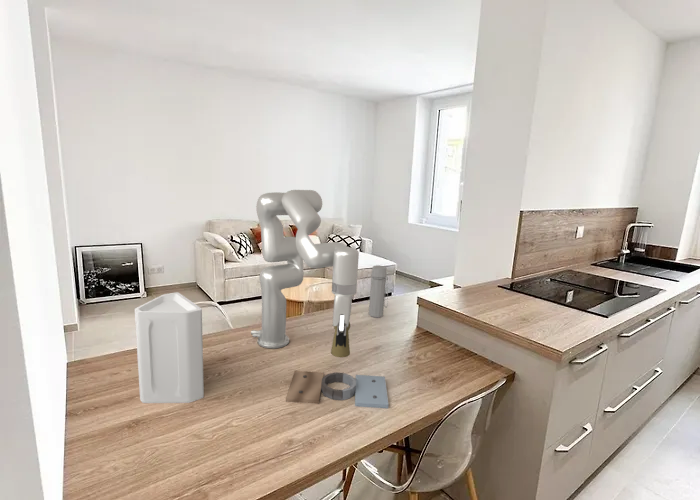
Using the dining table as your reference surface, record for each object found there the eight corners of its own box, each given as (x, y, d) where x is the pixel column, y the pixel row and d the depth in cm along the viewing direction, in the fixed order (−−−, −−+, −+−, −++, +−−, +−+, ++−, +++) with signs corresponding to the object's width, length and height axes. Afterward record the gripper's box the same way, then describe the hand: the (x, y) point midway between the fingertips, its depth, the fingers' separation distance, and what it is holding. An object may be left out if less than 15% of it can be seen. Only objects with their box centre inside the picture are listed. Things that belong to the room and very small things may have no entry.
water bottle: (367, 317, 183) (371, 268, 178) (369, 311, 191) (372, 264, 186) (386, 319, 182) (390, 270, 177) (387, 314, 189) (391, 266, 184)
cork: (352, 350, 120) (354, 318, 118) (346, 358, 114) (348, 324, 112) (334, 347, 122) (336, 315, 120) (327, 354, 116) (329, 321, 114)
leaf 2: (340, 405, 113) (341, 396, 112) (342, 376, 128) (343, 368, 128) (388, 408, 113) (388, 399, 112) (384, 379, 128) (385, 371, 128)
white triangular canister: (131, 386, 116) (126, 300, 110) (180, 371, 126) (177, 291, 120) (151, 417, 103) (146, 321, 97) (204, 397, 113) (202, 309, 107)
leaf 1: (285, 401, 113) (286, 392, 112) (294, 373, 129) (294, 365, 128) (341, 405, 113) (341, 396, 112) (343, 377, 128) (343, 369, 128)
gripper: (333, 279, 122) (330, 331, 126) (329, 295, 106) (326, 355, 109) (356, 280, 122) (353, 333, 126) (356, 297, 106) (352, 357, 109)
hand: (340, 343), depth 117 cm, fingers closed on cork, 3 cm apart
